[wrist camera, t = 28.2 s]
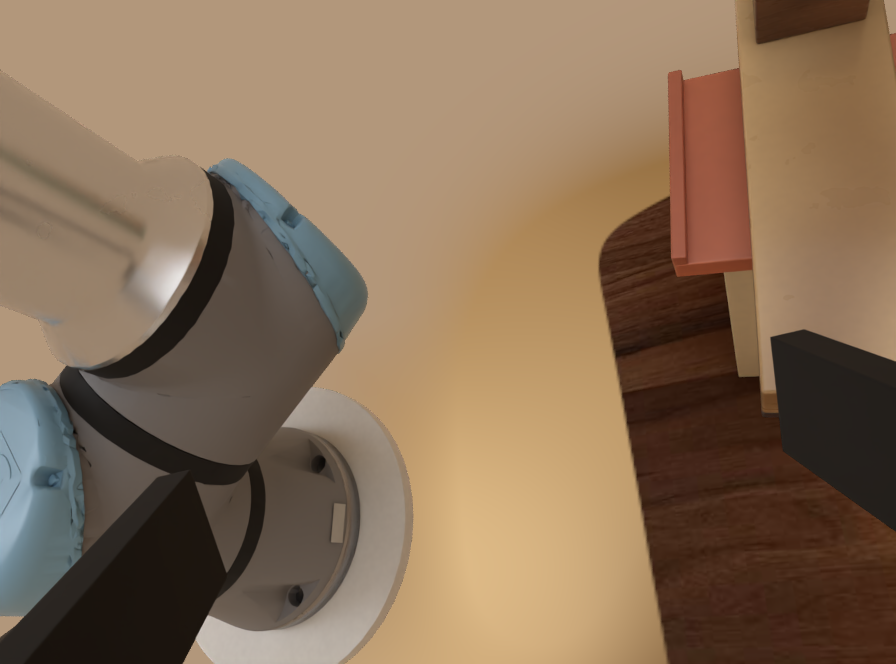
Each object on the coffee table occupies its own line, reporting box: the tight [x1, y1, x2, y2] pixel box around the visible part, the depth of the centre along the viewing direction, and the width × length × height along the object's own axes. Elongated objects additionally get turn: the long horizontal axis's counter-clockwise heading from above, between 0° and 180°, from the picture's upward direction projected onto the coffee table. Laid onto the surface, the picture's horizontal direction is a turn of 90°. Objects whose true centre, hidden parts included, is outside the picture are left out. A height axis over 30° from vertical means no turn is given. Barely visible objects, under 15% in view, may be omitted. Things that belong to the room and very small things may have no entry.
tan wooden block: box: [735, 0, 896, 417], centre depth 19 cm, size 4×18×5 cm, turn 174°
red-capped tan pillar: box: [668, 33, 896, 377], centre depth 28 cm, size 9×8×19 cm
